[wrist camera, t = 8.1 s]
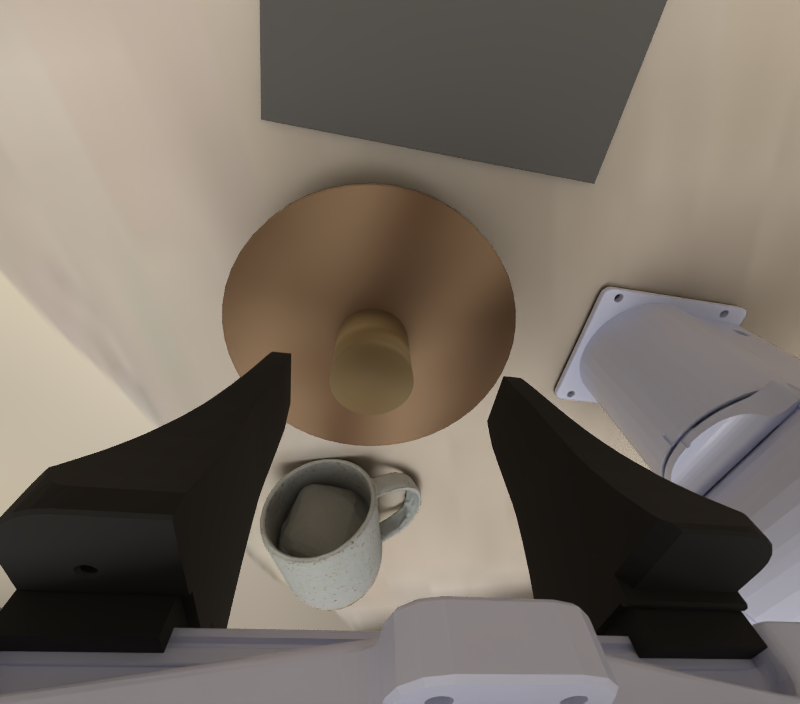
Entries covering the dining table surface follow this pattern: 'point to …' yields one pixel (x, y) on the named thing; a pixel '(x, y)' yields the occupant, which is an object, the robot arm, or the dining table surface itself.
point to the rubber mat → (460, 75)
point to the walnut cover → (372, 312)
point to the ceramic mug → (332, 529)
